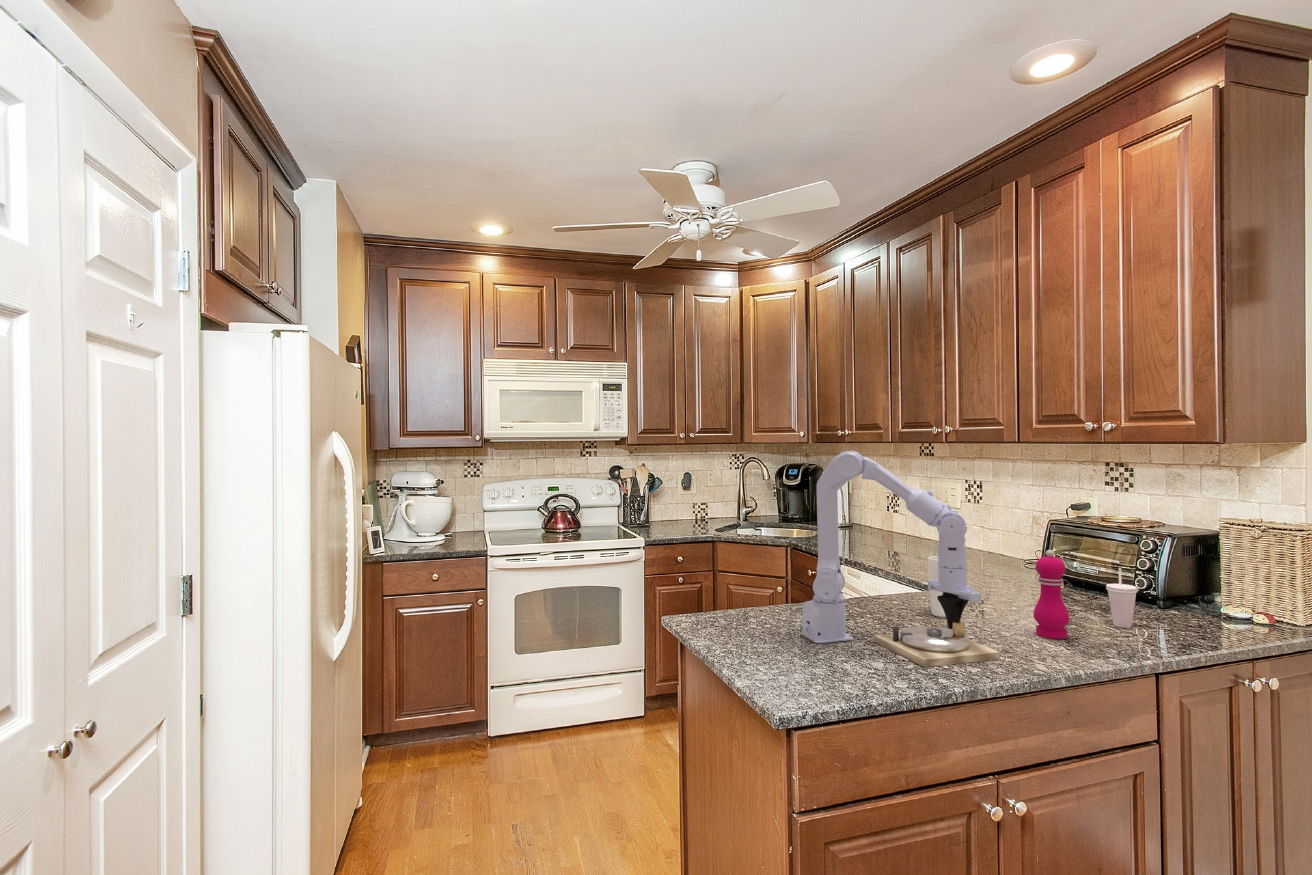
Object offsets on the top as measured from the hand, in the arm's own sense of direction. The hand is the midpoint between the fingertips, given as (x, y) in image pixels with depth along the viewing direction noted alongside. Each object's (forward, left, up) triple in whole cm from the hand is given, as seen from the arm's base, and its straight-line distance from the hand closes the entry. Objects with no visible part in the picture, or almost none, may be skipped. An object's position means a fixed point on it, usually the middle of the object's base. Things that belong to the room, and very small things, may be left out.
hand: (953, 628), depth 146 cm
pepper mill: (+28, +2, -5) cm, 29 cm away
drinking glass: (+16, +25, -5) cm, 30 cm away
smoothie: (+51, +4, -5) cm, 52 cm away
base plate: (-5, 0, -5) cm, 7 cm away
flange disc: (-5, 0, -3) cm, 5 cm away
